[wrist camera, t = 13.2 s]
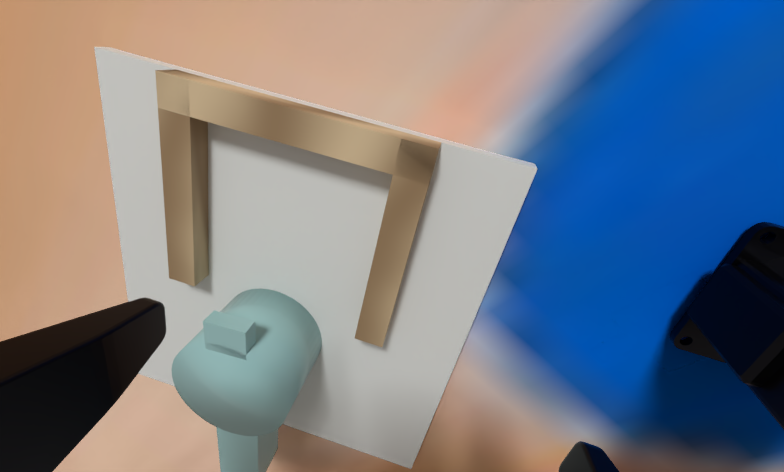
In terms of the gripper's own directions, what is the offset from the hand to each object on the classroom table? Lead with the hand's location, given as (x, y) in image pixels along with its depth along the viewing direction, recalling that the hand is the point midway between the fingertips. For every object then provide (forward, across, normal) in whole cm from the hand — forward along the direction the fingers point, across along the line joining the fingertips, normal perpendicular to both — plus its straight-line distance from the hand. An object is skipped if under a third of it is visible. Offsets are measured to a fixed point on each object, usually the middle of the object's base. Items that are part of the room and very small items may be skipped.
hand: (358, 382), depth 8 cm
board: (+11, +6, +8) cm, 15 cm away
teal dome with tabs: (+10, +6, +12) cm, 17 cm away
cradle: (+10, +6, +2) cm, 12 cm away
